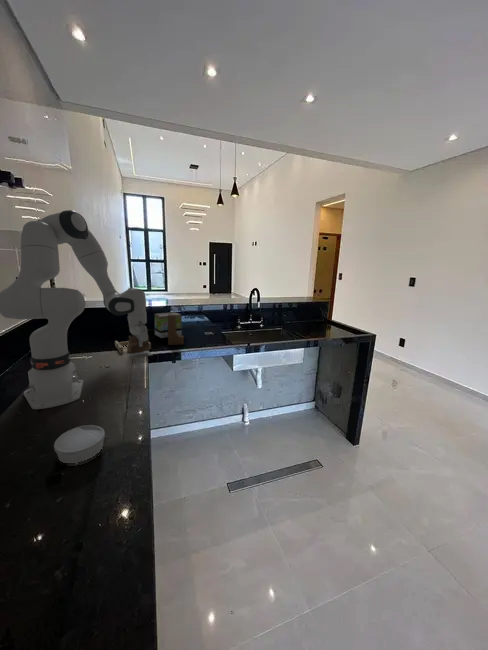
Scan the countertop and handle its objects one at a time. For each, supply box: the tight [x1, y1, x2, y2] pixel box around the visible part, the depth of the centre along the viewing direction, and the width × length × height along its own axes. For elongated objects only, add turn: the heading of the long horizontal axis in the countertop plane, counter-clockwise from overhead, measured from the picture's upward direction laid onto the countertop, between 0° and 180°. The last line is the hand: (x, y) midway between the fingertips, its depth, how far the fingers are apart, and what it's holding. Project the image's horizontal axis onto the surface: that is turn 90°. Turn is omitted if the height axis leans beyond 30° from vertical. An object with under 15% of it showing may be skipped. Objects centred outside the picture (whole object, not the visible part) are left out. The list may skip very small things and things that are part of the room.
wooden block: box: [167, 314, 185, 346], centre depth 161 cm, size 9×4×18 cm, turn 104°
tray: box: [114, 340, 152, 354], centre depth 153 cm, size 15×16×4 cm
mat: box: [126, 350, 153, 360], centre depth 143 cm, size 8×11×1 cm
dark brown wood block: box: [128, 334, 150, 353], centre depth 141 cm, size 4×9×8 cm, turn 127°
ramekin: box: [53, 424, 106, 463], centre depth 70 cm, size 11×11×5 cm
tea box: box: [154, 311, 183, 339], centre depth 179 cm, size 15×10×15 cm
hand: (139, 345), depth 141 cm, fingers closed on dark brown wood block, 3 cm apart
